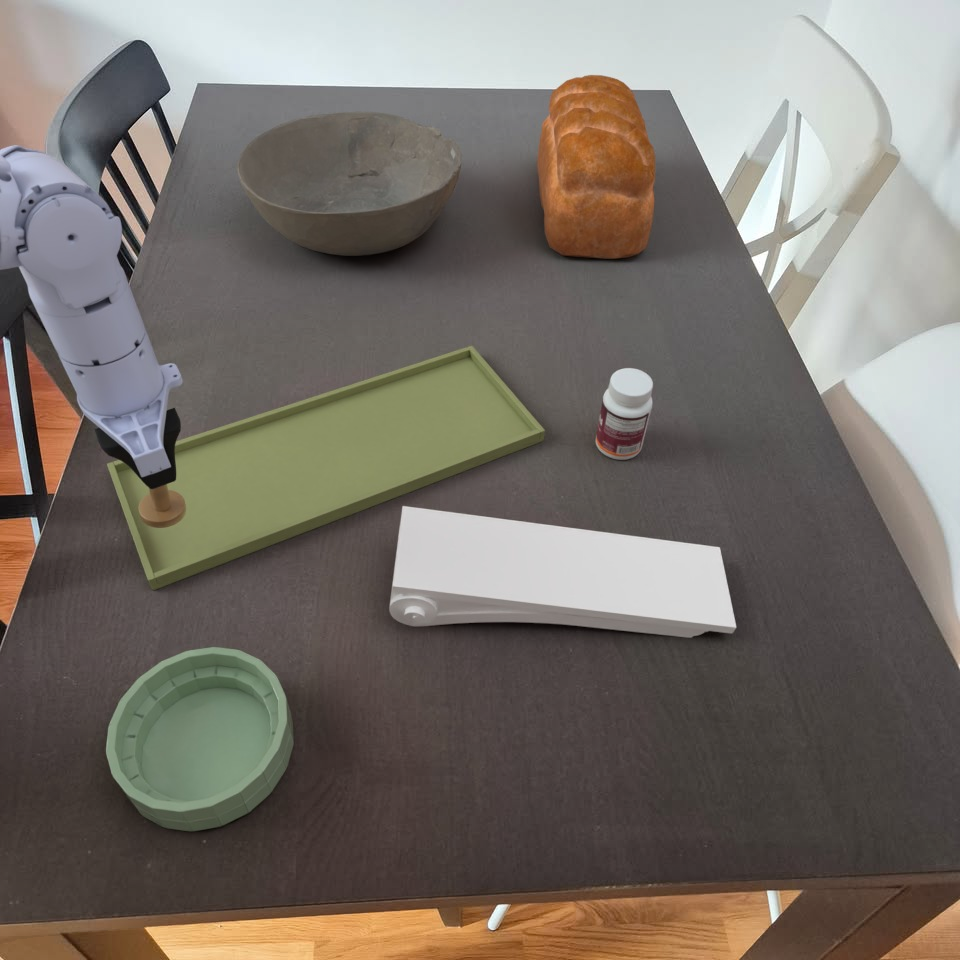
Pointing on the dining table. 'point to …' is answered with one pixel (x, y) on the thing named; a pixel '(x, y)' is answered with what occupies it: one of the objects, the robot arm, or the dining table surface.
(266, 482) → the serving tray
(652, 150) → the bread
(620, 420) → the pill bottle
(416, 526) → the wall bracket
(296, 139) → the bowl
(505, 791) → the dining table surface
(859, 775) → the dining table surface
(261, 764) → the shallow round dish
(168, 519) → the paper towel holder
